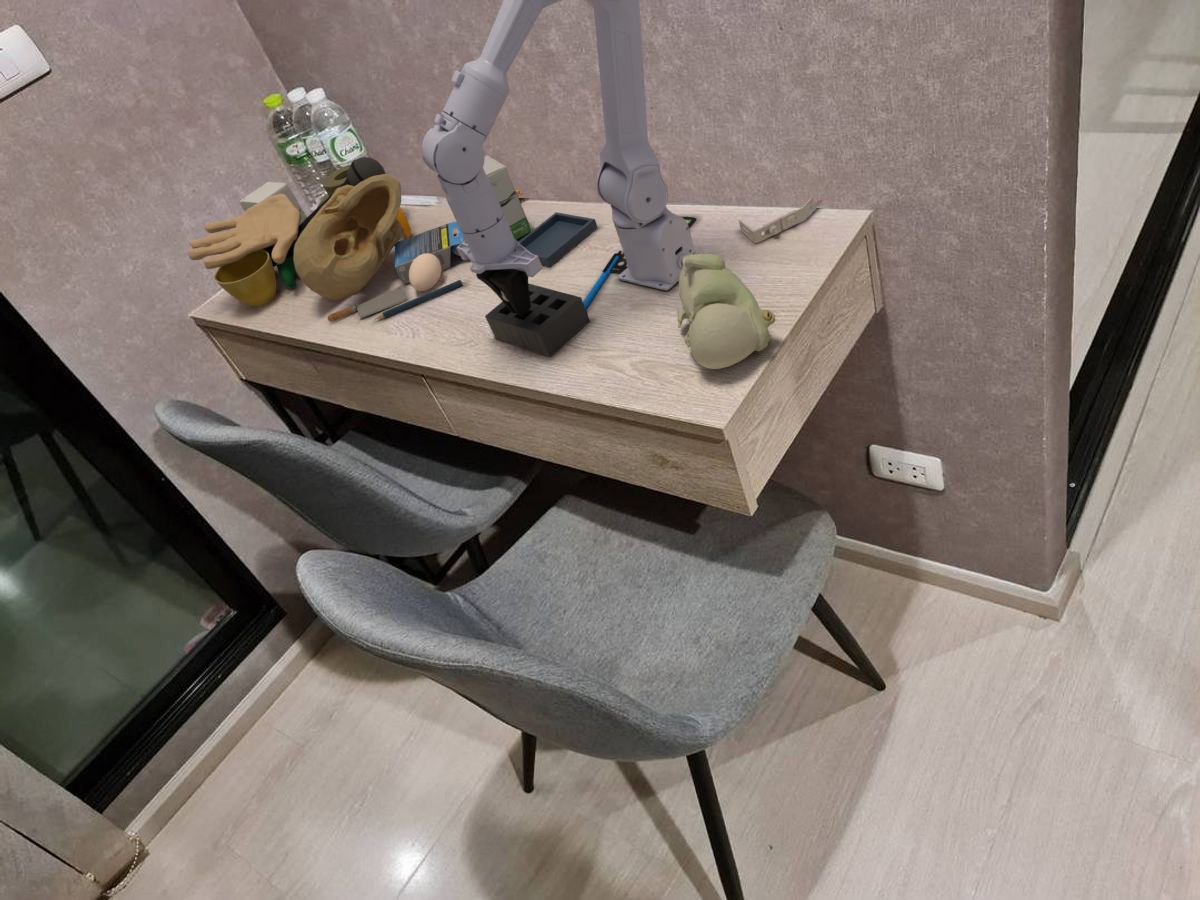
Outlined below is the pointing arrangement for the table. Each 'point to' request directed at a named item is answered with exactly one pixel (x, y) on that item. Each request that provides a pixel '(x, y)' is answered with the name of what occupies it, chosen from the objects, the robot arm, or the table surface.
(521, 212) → the ink box
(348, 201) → the ear model
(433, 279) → the egg
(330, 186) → the flange
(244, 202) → the white packaging box
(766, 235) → the bracket
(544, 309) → the rack
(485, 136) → the robot arm
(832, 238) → the table surface
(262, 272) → the flower pot
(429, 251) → the label tape box
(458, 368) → the table surface
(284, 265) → the gaming controller
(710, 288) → the figurine
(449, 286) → the pencil
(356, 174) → the microphone
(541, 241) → the tray
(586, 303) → the pen
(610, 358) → the table surface
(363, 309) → the cleaver
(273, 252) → the hand model
